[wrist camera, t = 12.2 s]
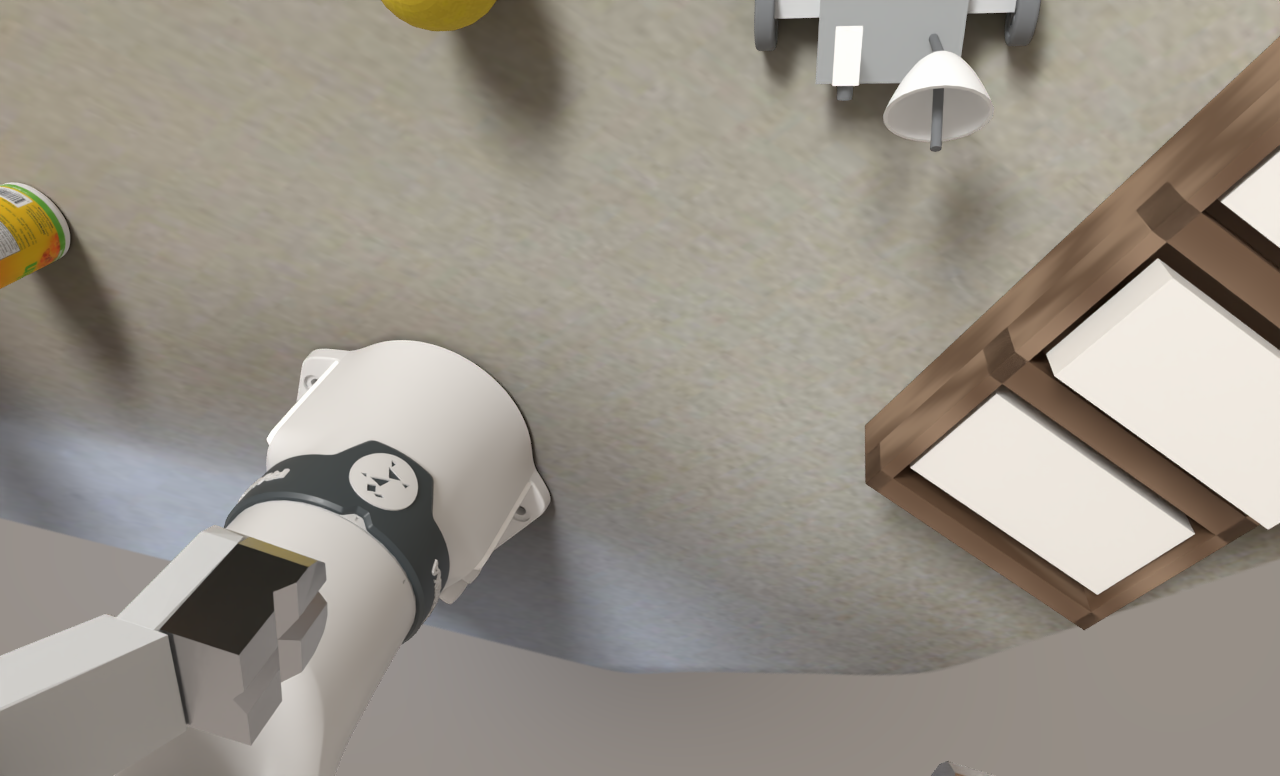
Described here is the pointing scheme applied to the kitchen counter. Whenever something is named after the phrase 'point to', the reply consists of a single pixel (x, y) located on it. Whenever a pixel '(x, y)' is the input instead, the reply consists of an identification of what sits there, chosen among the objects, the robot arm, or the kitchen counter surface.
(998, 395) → the switch
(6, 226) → the supplement bottle
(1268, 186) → the switch
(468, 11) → the lemon
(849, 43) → the toy car
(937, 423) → the brown boxy piece
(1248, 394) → the switch
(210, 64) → the kitchen counter surface
